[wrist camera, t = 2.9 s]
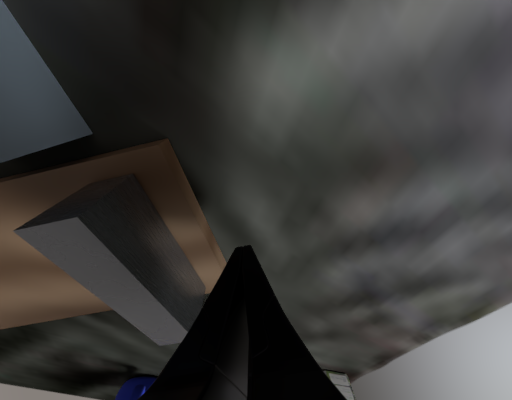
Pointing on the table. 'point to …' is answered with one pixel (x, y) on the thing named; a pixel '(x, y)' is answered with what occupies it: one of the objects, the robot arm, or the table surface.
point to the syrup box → (341, 384)
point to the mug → (135, 388)
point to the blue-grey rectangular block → (31, 97)
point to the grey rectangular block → (122, 256)
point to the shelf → (63, 185)
